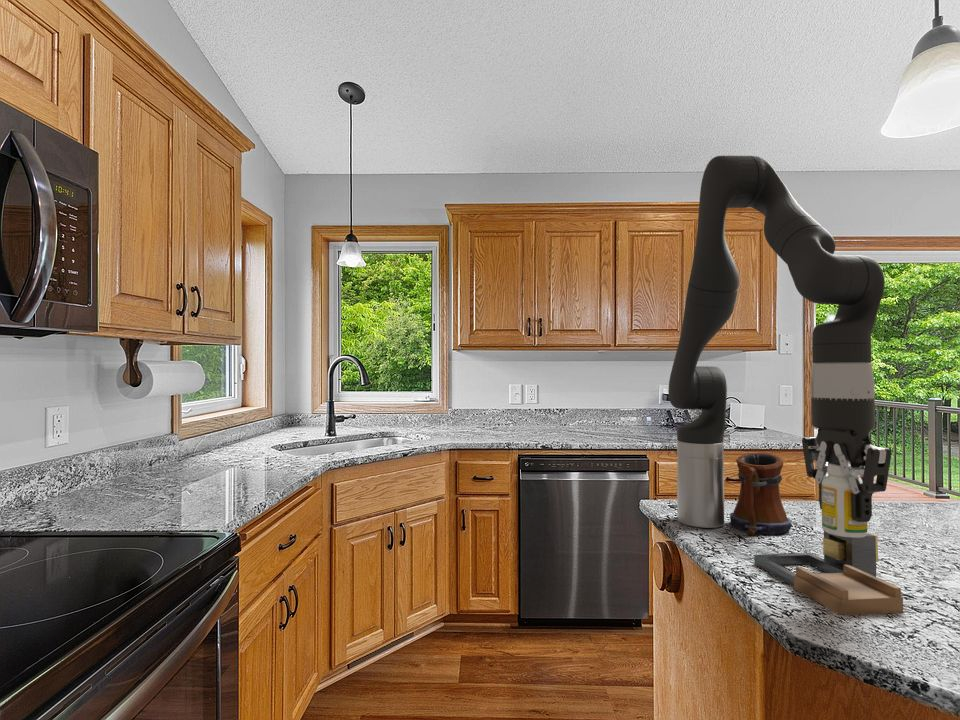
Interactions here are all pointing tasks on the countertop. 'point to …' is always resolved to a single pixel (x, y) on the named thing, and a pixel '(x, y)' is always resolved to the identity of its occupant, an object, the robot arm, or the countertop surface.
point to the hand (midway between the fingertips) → (844, 515)
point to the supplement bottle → (839, 505)
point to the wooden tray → (849, 591)
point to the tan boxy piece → (839, 548)
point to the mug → (760, 496)
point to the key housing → (857, 553)
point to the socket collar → (775, 560)
